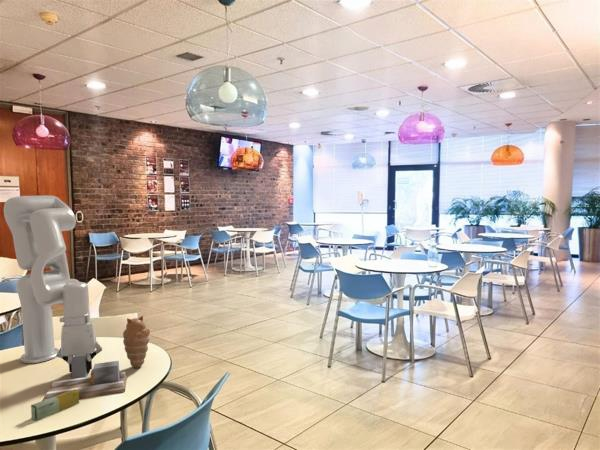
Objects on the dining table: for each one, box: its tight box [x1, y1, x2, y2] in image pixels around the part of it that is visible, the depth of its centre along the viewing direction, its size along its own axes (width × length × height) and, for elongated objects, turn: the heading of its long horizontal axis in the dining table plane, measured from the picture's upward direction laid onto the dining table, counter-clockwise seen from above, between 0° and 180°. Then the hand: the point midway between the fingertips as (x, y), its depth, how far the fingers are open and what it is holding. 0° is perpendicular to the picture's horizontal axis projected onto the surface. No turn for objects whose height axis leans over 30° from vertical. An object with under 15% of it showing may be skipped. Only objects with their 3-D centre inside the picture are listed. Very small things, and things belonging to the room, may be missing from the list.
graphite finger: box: [71, 354, 88, 379], centre depth 144 cm, size 4×8×6 cm, turn 18°
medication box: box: [30, 389, 81, 422], centre depth 121 cm, size 12×3×4 cm, turn 143°
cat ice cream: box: [122, 315, 151, 369], centre depth 148 cm, size 9×8×18 cm
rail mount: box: [42, 360, 128, 401], centre depth 133 cm, size 22×12×7 cm, turn 108°
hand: (81, 372), depth 144 cm, fingers closed on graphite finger, 3 cm apart
